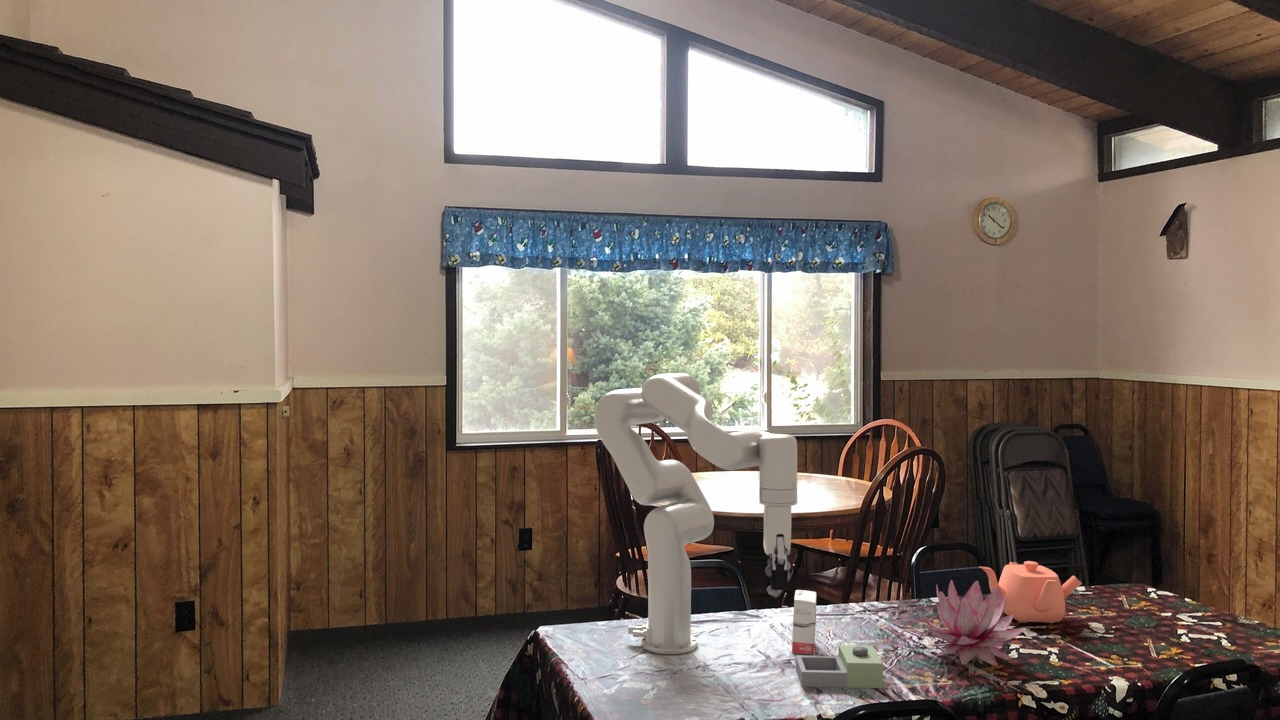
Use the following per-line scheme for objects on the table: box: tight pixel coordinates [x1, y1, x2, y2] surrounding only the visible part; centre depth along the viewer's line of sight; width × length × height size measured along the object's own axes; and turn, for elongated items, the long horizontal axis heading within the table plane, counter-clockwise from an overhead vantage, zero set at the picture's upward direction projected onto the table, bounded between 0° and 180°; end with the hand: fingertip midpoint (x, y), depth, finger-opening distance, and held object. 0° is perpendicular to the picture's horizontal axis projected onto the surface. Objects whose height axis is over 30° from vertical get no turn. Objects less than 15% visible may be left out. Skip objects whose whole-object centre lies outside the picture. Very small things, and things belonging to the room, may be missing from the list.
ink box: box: [791, 589, 817, 656], centre depth 206 cm, size 9×5×12 cm, turn 168°
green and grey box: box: [795, 644, 884, 689], centre depth 189 cm, size 16×10×6 cm, turn 88°
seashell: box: [764, 551, 792, 598], centre depth 187 cm, size 5×5×10 cm
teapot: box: [979, 560, 1083, 624], centre depth 227 cm, size 18×18×14 cm
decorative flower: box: [916, 579, 1027, 666], centre depth 201 cm, size 21×21×15 cm
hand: (778, 584), depth 187 cm, fingers closed on seashell, 5 cm apart
